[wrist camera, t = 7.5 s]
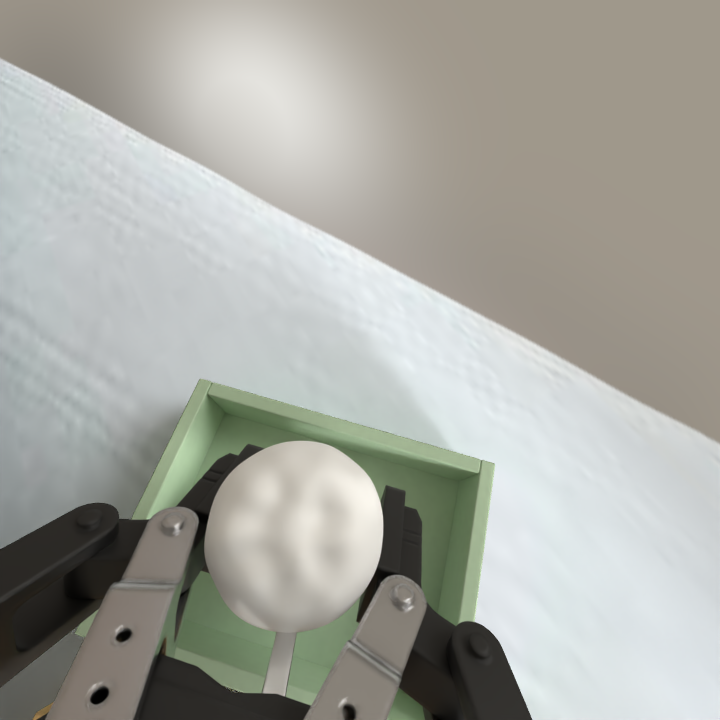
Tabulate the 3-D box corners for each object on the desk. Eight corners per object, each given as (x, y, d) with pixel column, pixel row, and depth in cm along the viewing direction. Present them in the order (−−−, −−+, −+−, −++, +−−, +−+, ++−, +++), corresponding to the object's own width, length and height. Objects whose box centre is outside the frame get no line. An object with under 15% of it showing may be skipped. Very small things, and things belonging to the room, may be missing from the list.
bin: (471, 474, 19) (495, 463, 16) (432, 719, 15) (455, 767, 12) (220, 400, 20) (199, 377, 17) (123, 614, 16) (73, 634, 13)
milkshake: (251, 607, 16) (140, 710, 7) (268, 474, 18) (202, 418, 9) (360, 611, 16) (393, 716, 7) (364, 479, 18) (393, 427, 9)
